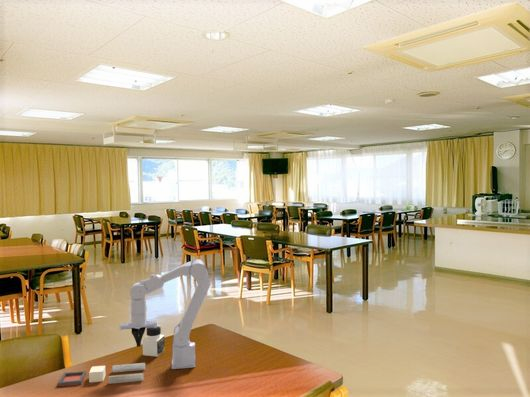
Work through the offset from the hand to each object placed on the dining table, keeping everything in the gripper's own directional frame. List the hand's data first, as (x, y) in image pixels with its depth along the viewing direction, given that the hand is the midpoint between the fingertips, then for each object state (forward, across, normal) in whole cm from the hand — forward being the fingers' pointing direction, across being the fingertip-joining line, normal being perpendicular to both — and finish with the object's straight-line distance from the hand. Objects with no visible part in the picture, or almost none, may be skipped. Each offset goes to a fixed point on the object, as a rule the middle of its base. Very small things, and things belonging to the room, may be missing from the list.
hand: (138, 345), depth 167 cm
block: (+10, -15, -6) cm, 19 cm away
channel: (+9, -4, -6) cm, 12 cm away
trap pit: (+9, -24, -6) cm, 26 cm away
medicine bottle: (+10, +5, +14) cm, 18 cm away
